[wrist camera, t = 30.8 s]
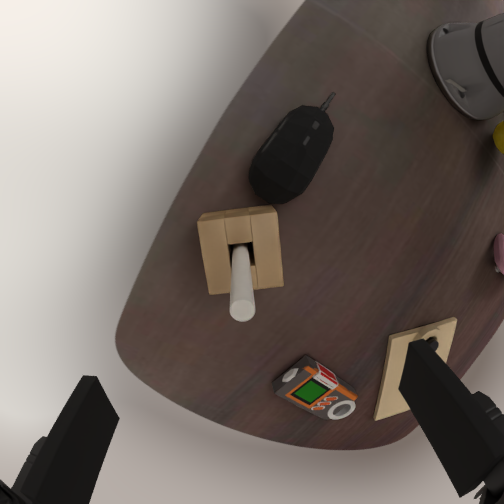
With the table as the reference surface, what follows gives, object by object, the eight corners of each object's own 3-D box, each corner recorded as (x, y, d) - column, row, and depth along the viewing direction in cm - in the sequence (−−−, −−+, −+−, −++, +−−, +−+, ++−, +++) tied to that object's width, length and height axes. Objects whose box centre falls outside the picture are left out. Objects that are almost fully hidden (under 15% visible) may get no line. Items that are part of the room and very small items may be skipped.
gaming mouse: (355, 110, 29) (369, 104, 25) (284, 213, 32) (291, 220, 29) (310, 77, 28) (320, 67, 24) (237, 182, 31) (237, 184, 27)
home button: (435, 335, 37) (440, 339, 35) (432, 347, 37) (437, 352, 36) (423, 338, 37) (428, 343, 35) (420, 351, 37) (425, 356, 36)
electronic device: (335, 426, 40) (272, 394, 36) (330, 413, 43) (269, 379, 39) (367, 402, 39) (309, 364, 35) (361, 390, 42) (304, 351, 38)
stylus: (246, 235, 33) (253, 297, 18) (248, 248, 33) (256, 320, 18) (232, 236, 33) (227, 300, 18) (234, 250, 33) (231, 323, 18)
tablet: (454, 313, 38) (462, 320, 36) (430, 397, 44) (435, 405, 42) (389, 331, 38) (396, 340, 36) (373, 416, 44) (377, 426, 41)
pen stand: (271, 204, 32) (277, 211, 27) (277, 269, 34) (283, 286, 30) (202, 213, 32) (196, 221, 27) (213, 277, 34) (209, 295, 30)
